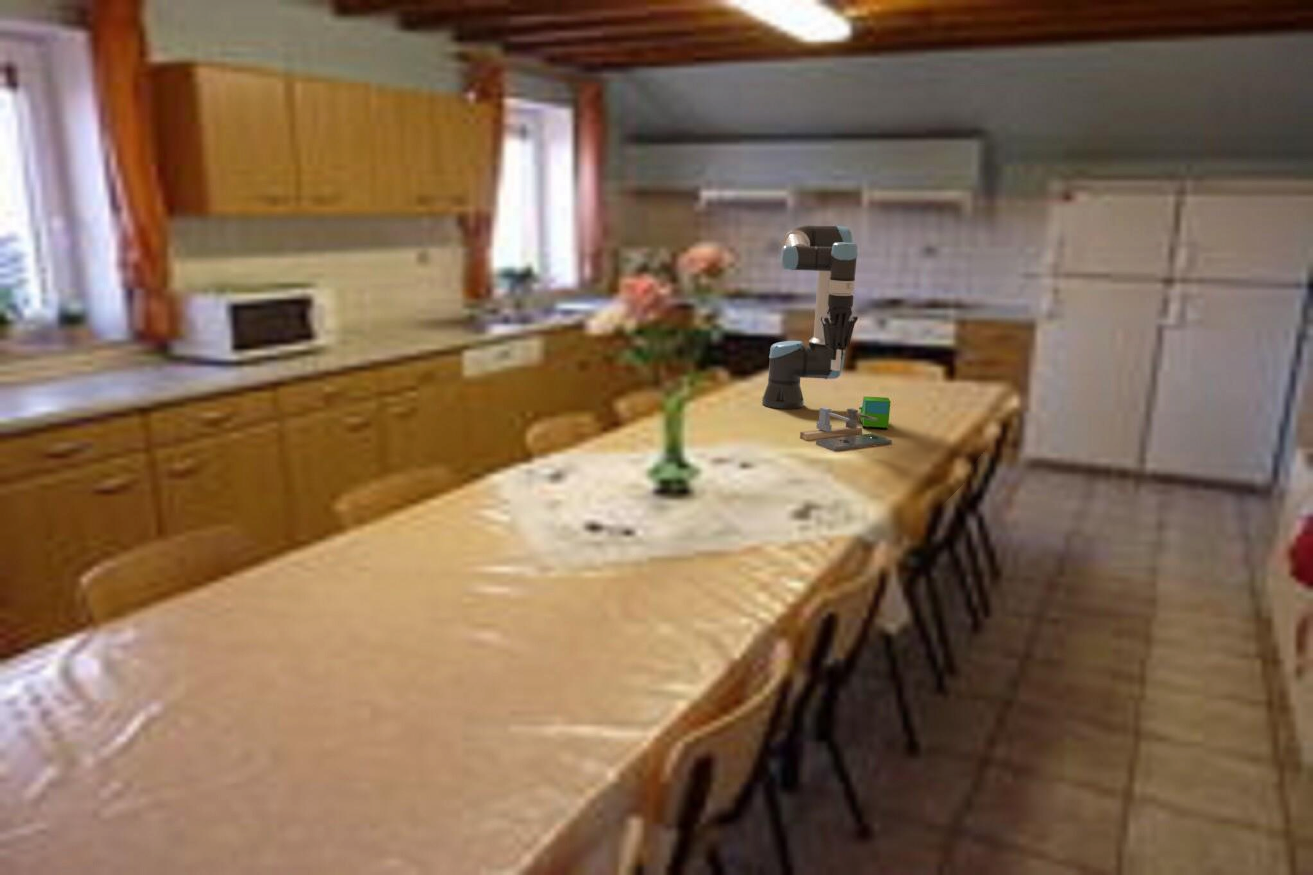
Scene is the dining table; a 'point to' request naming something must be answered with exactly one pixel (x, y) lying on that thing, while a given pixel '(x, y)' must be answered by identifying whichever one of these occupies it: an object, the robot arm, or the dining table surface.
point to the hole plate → (853, 442)
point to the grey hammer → (827, 419)
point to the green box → (875, 411)
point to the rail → (841, 431)
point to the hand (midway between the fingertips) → (835, 369)
